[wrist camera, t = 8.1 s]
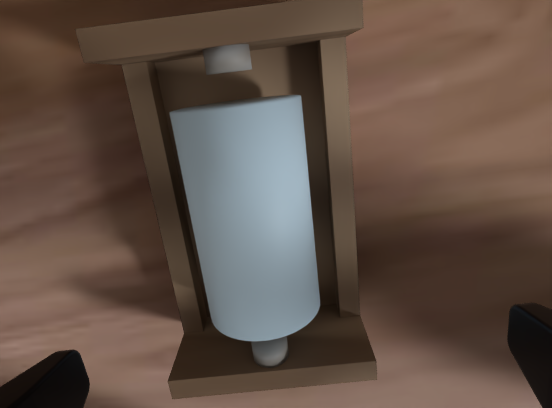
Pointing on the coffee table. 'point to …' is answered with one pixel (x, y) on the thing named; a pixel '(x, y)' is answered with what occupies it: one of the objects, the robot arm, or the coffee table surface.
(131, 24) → the holder
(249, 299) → the roll
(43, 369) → the robot arm
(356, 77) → the coffee table surface
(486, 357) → the coffee table surface
